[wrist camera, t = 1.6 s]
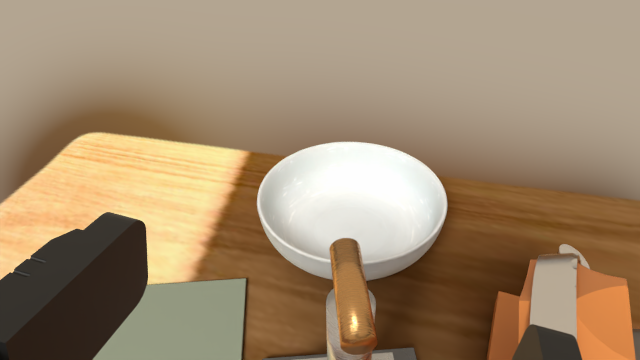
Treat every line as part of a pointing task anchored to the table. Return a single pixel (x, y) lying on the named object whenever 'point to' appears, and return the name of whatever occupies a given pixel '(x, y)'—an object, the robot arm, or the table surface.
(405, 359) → the chuck block
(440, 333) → the table surface
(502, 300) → the desk clock
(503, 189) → the table surface
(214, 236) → the table surface
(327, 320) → the cylinder
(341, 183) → the serving bowl
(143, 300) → the rubber mat
